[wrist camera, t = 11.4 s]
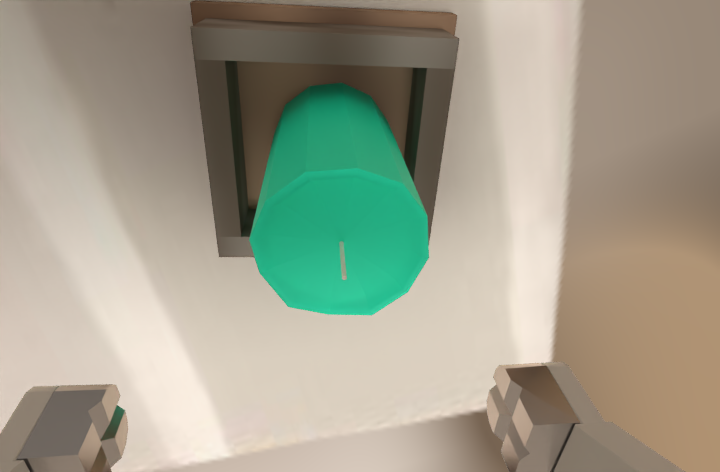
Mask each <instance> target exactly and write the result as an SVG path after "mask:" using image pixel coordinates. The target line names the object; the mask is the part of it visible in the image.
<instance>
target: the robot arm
mask: <svg viewBox="0 0 720 472" xmlns="http://www.w3.org/2000/svg"><path fill="white" fill-rule="evenodd" d="M493 378H494V380H495V382H496V384H497V385H495V386H494V387H493V388H492V389H491V390H490V391H489V394H488V398H487V414H488V419H489V423H490V425H491V428H492V431H493V433H494V434H495V435H496V436H497V437H499V438H500V439H501V440H502V441H503V442H504V443H503V446H502V449H501V453H502V456H503V458H504V460H505V463H506V465H507V468H508V470H509V472H685V471H683V470H682V469H680V468H679V467H677V466H676V465H674V464H673V463H671V462H670V461H669V460H667V459H665V458H664V457H663V456H661V455H660V454H658V453H657V452H655V451H654V450H652V449H651V448H649V447H648V446H646V445H645V444H643V443H642V442H640V441H639V440H638V439H636V438H635V437H633V436H632V435H630V434H629V433H627V432H626V431H624V430H623V429H621V428H620V427H618V426H617V425H615V424H614V423H613V422H605V421H604V420H603V418H602V416H601V415H600V413H599V412H598V410H597V409H596V407H595V406H594V404H593V403H592V401H591V400H590V398H589V396H588V395H587V393H586V392H585V390H584V389H583V387H582V386H581V384H580V383H579V381H578V380H577V378H576V377H575V375H574V374H573V372H572V370H571V369H570V367H569V366H568V365H567V364H565V363H564V362H552V363H529V364H512V365H499V366H498V367H497V368H496V370H495V373H494V376H493ZM119 398H120V394H119V391H118V388H117V386H116V385H112V384H105V385H61V386H37V387H33V388H31V389H30V390H29V391H28V392H26V393H25V395H24V396H23V398H22V400H21V401H20V403H19V404H18V406H17V408H16V409H15V411H14V412H13V414H12V416H11V417H10V419H9V421H8V422H7V424H6V425H5V427H4V429H3V430H2V432H1V434H0V472H112V471H111V469H110V468H111V467H112V466H113V465H114V464H115V463H116V462H117V461H118V460H119V459H121V458H122V454H123V451H124V448H125V445H126V440H127V433H128V422H127V416H126V413H125V410H123V409H122V408H121V407H119V406H118V405H117V403H118V401H119Z"/></svg>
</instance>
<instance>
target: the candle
mask: <svg viewBox="0 0 720 472" xmlns="http://www.w3.org/2000/svg"><path fill="white" fill-rule="evenodd" d="M249 241H250V244H251V247H252V250H253V253H254V257H255V260H256V263H257V266H258V269H259V272H260V274H261V275H262V276H263V277H264V279H265V280H266V281H267V282H268V283H269V285H270V286H271V287H272V288H273V289H274V290H275V292H276V293H277V294H278V295H279V296H280V298H281V299H282V300H283V301H284V302H285V303H286V305H287V306H288V307H292V308H297V309H303V310H308V311H313V312H319V313H324V314H338V315H373V314H374V313H376V312H378V311H379V310H381V309H382V308H384V307H385V306H387V305H388V304H390V303H391V302H393V301H395V300H396V299H398V298H399V297H401V296H402V295H404V294H405V293H407V292H408V291H409V289H410V287H411V286H412V284H413V283H414V281H415V279H416V278H417V276H418V274H419V273H420V271H421V269H422V268H423V266H424V265H425V263H426V261H427V260H428V258H429V250H428V217H427V214H426V211H425V209H424V207H423V204H422V202H421V199H420V197H419V195H418V192H417V190H416V188H415V185H414V183H413V180H412V178H411V176H410V173H409V171H408V168H407V166H406V164H405V161H404V159H403V157H402V154H401V152H400V149H399V147H398V145H397V142H396V140H395V137H394V135H393V133H392V130H391V128H390V126H389V123H388V121H387V119H386V118H385V116H384V115H383V113H382V112H381V110H380V109H379V107H378V106H377V105H376V103H375V102H374V100H373V99H372V97H371V96H370V95H368V94H366V93H363V92H361V91H359V90H357V89H355V88H353V87H350V86H348V85H346V84H344V83H333V84H324V85H315V86H309V87H308V88H307V89H305V90H304V91H303V92H301V93H300V94H299V95H298V96H296V97H295V98H294V99H292V100H291V101H290V102H288V103H287V104H286V105H285V107H284V109H283V112H282V114H281V117H280V120H279V122H278V125H277V127H276V130H275V133H274V137H273V141H272V145H271V150H270V154H269V158H268V162H267V167H266V171H265V175H264V179H263V184H262V188H261V192H260V196H259V201H258V205H257V209H256V213H255V218H254V222H253V226H252V230H251V234H250V239H249Z"/></svg>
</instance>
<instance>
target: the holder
mask: <svg viewBox="0 0 720 472" xmlns="http://www.w3.org/2000/svg"><path fill="white" fill-rule="evenodd" d="M190 5H191V13H192V21H193V26H192V27H190V28H191V36H192V44H193V52H194V60H195V68H196V76H197V84H198V92H199V100H200V108H201V116H202V124H203V132H204V140H205V148H206V156H207V164H208V172H209V180H210V188H211V196H212V204H213V212H214V220H215V228H216V236H217V244H218V252H219V257H254V253H253V250H252V247H251V244H250V241H249V239H250V234H251V230H252V226H253V222H254V218H255V213H256V209H257V205H258V201H259V196H260V192H261V188H262V184H263V179H264V175H265V171H266V167H267V162H268V158H269V154H270V150H271V145H272V141H273V137H274V133H275V130H276V127H277V125H278V122H279V120H280V117H281V114H282V112H283V109H284V107H285V105H286V104H287V103H288V102H290V101H291V100H292V99H294V98H295V97H296V96H298V95H299V94H300V93H301V92H303V91H304V90H305V89H307V88H308V87H309V86H315V85H324V84H333V83H344V84H346V85H348V86H350V87H353V88H355V89H357V90H359V91H361V92H363V93H366V94H368V95H370V96H371V97H372V99H373V100H374V102H375V103H376V105H377V106H378V107H379V109H380V110H381V112H382V113H383V115H384V116H385V118H386V119H387V121H388V123H389V126H390V128H391V130H392V133H393V135H394V137H395V140H396V142H397V145H398V147H399V149H400V152H401V154H402V157H403V159H404V161H405V164H406V166H407V168H408V171H409V173H410V176H411V178H412V180H413V183H414V185H415V188H416V190H417V192H418V195H419V197H420V199H421V202H422V204H423V207H424V209H425V211H426V214H427V217H428V246H429V239H430V233H431V226H432V219H433V212H434V206H435V199H436V192H437V186H438V179H439V172H440V165H441V159H442V152H443V145H444V138H445V132H446V125H447V118H448V112H449V105H450V98H451V91H452V85H453V78H454V71H455V64H456V58H457V51H458V44H459V38H457V37H455V36H454V34H455V27H456V20H457V15H455V14H453V13H444V12H423V11H402V10H381V9H361V8H340V7H319V6H299V5H278V4H257V3H236V2H216V1H193V2H190Z"/></svg>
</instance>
